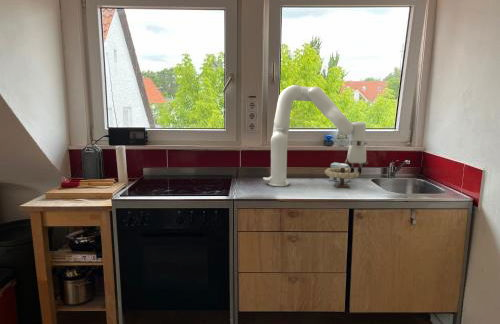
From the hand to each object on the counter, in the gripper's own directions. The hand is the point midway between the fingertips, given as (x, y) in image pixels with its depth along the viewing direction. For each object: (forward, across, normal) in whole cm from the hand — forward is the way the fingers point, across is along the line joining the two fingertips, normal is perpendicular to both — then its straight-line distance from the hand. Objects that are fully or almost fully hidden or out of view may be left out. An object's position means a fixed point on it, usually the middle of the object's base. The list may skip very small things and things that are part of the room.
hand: (355, 174), depth 202 cm
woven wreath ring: (-1, +8, 0) cm, 8 cm away
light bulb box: (+8, +5, -15) cm, 18 cm away
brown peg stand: (+7, +8, 0) cm, 11 cm away
